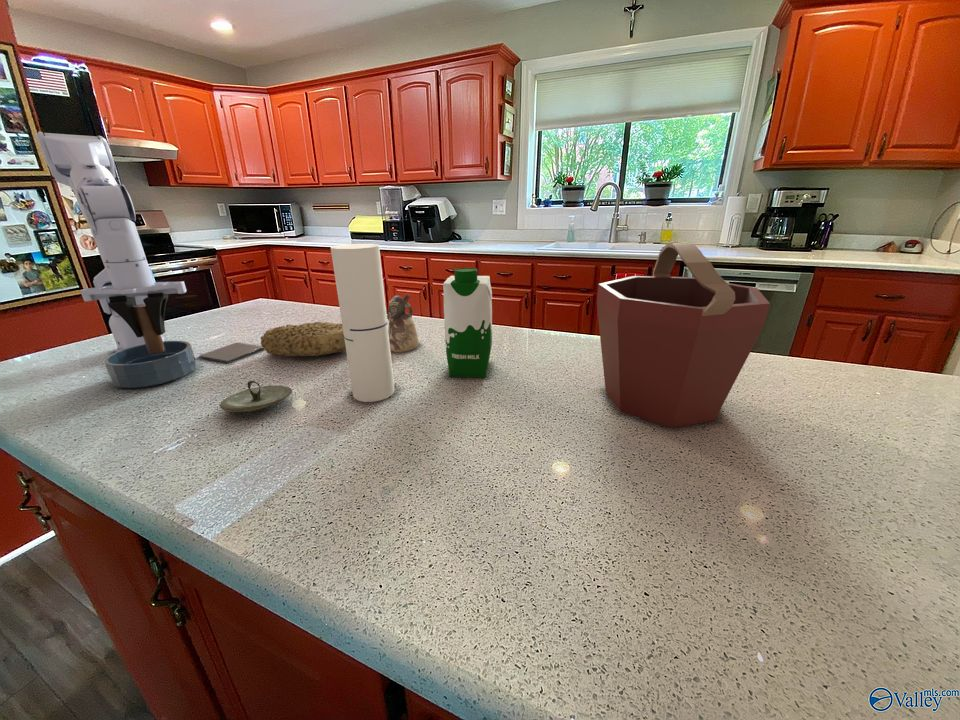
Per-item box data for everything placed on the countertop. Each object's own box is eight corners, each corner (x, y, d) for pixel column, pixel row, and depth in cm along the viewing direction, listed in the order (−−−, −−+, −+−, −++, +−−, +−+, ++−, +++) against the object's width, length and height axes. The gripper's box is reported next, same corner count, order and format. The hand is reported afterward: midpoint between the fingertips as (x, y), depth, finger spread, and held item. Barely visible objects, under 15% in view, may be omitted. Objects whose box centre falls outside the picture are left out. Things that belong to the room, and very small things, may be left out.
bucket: (743, 457, 51) (800, 259, 41) (572, 421, 60) (586, 251, 50) (724, 382, 71) (759, 238, 62) (599, 364, 80) (613, 235, 71)
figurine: (384, 344, 93) (378, 293, 89) (413, 339, 96) (409, 290, 91) (391, 354, 87) (385, 300, 83) (422, 348, 90) (418, 296, 85)
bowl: (97, 384, 75) (87, 359, 73) (170, 359, 86) (163, 337, 84) (141, 395, 70) (131, 369, 68) (212, 367, 81) (205, 344, 80)
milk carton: (444, 378, 75) (438, 271, 67) (451, 360, 83) (447, 263, 76) (490, 379, 74) (489, 272, 66) (493, 361, 82) (493, 263, 75)
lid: (239, 436, 60) (236, 410, 58) (208, 404, 64) (205, 378, 62) (303, 410, 68) (304, 386, 66) (272, 383, 72) (271, 360, 70)
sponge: (260, 366, 85) (338, 355, 79) (251, 330, 84) (329, 316, 78) (303, 355, 97) (373, 345, 91) (296, 323, 96) (366, 311, 90)
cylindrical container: (384, 403, 66) (366, 249, 56) (345, 399, 67) (320, 248, 58) (400, 385, 72) (386, 243, 63) (364, 382, 74) (345, 243, 64)
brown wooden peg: (145, 353, 75) (128, 306, 71) (160, 348, 77) (144, 303, 73) (154, 354, 74) (137, 307, 70) (168, 350, 76) (153, 304, 73)
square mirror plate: (199, 357, 87) (199, 355, 87) (236, 344, 94) (236, 342, 94) (228, 363, 84) (227, 361, 83) (264, 349, 91) (263, 347, 91)
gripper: (59, 266, 63) (92, 346, 68) (169, 260, 68) (191, 335, 73) (80, 261, 69) (109, 335, 74) (179, 255, 74) (200, 325, 79)
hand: (151, 334), depth 74 cm, fingers closed on brown wooden peg, 2 cm apart
